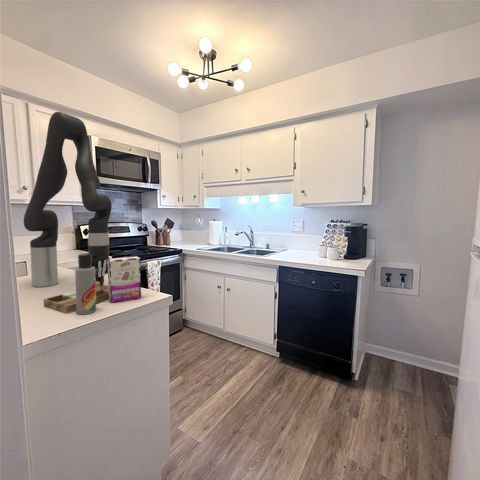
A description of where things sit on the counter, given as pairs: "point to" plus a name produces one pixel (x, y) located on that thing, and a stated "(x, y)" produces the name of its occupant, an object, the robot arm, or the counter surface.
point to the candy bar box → (124, 279)
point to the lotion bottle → (85, 285)
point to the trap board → (73, 300)
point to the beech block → (97, 285)
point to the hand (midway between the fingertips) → (99, 285)
